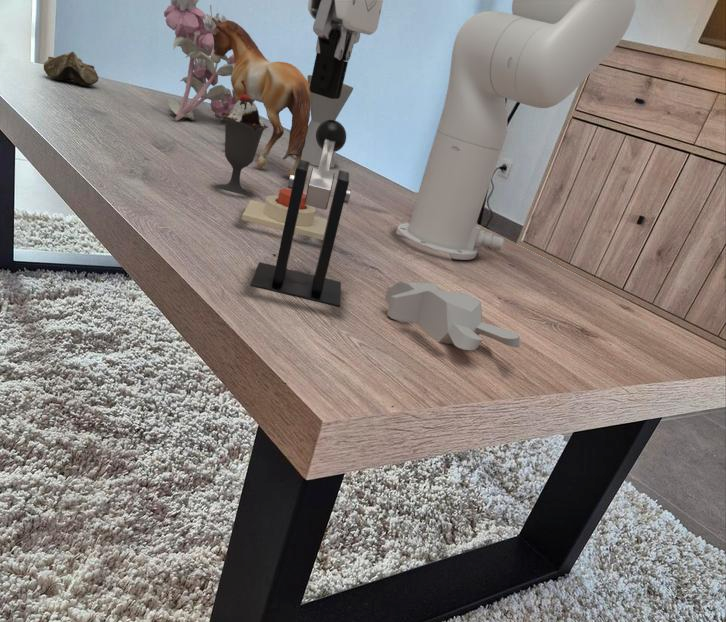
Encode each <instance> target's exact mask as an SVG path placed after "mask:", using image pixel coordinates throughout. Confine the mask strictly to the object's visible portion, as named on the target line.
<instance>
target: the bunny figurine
mask: <svg viewBox="0 0 726 622" xmlns="http://www.w3.org/2000/svg"><path fill="white" fill-rule="evenodd" d="M384 299H385V301H387V303H389V304H388V308H387V312H386V313H387V314H386V315H387V316H388V317H389V318H390V319H392V320H395V321H397V322H401V323H402V322H404V323H412V324H416V325H418V326H419V328H420V329H421V330H422V331H423V332H424V333H426V335H427V336H428V337H430V338H431V339H432V340H434V341H435V342H437V343H439V344H447V345H454V346H455V347H457V348H458V349H460V350H463V351H475V350H477V349H478V348H479V346H480V344H481V343H482V342H483V338H482V337H481V336H480V335H482V336H485V337H487V338H490V339H491V340H494V341H497V342H499V343H501V344H503V345H506V346H509V347H511V348H516V349H517V348H520V345H521V343H520V340H521V339H520V335H519V333H518V332H516V331H512V330H509V329H506V328H503V327H500V326H496V325H492V324H488V323H485V322H483V312H482V311H483V310H482V302H481V301H480V300H479V299H477V298H476V297H475V296H473V295H471V294H469V293H466V292H462V291H458V290H457V291H452V290H451V291H450V290H445V289H440V288H439V287H438V285H437V283H434V282H415V281H414V282H412V281H411V282H410V281H400V282H396V283H395V284H394V285H387V288H386V294H385V298H384Z"/></svg>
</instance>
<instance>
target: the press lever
mask: <svg viewBox="0 0 726 622" xmlns="http://www.w3.org/2000/svg"><path fill="white" fill-rule="evenodd" d="M316 141H317V143H318V145H319V147H320V148H321V149H323V150H322V154H321V159H320V163H319V166H317V167H312V168H311V171H310V172H311V173H310V177H309V180H308V185H307V189H306V194H305V195H306V199H305V203H304V204H305V205H309V206H313V207H314V208H316V209H320V210H324V211H326V210H328V205H329V203H330V197H331V193H332V188H333V183H334V178H335V174H336V173H334V172H331V171H330V169H331V168H330V165H331V160H332V155H333V152H334V153H336V152H339V151H340V150H342V148H343V147H344V146H345V144H346V142H347V131H346V129H345V127H344V125H343V124H341V122H339V121H338V120H326V121H324V122H322V123H321V124H320V125H319V127H318V128H317V131H316Z"/></svg>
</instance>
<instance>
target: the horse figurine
mask: <svg viewBox="0 0 726 622" xmlns="http://www.w3.org/2000/svg"><path fill="white" fill-rule="evenodd" d="M212 20H213V21H214V23H215V24H216V28H215V30H214V32H213V34H212V35H213V38H214V43H213V49H212V53H211V55H210V58H211V59H212V60H213V62H214V64H216V63H218V64H219V63H221V60H222V59H221V58H222V57H223V56H224V55H226V54H228V52H230V51H232V53H233V54H234V60H235V67H234V69H233V71H232V75H231V76H230V82H231V87H232V89H233V90H234V92H235V100H236V103H237V102H238V101H239V99H240V96H241V95H242V94H244V93H245V87H244V86H243V84H242V83H241V80H244V84H245V86H246V92H247V94H246V95H247V96H248V97H249V99H250V100H251V101H252V102H259V103H261V104H263V107H264V108H265V111H266V117H267V119H268V121H269V123H270V124H271V126H272V128H273V129H272V134H271V137H270V139H269V141H268V142H267V143H266V145H264V147H262V149H261V151H260V155H259V157H258V159H257V162H256V168H258V169H261V168H264V167H265V166H266V162H267V161H266V156H267V155H268V154H269V153H270V152H271V150H272V148H273V147H274V145H275V144H276V142H278V141H279V139H281V138H282V137H283V135H284V131H285V130H284V127H283V125H282V123H281V119H280V113H281V112H282V111H284V109H286V108H288V111H289V112H290V114H291V127H290V131H289V138H288V145H287V151H286V153H285V155H284V156H283V157H282V160H284V161H285V160H286V159H287V158H289V157H291V156H292V155H295V156H296V158H295V160H294V165H293V167H292V168H291V169H290V170H289V171H288V172H287V174H286V177H287V178H288V177H290V174H295V172H296V168H297V165H298V163H299V160H301V157H302V151H303V148H304V145H305V138H306V135H307V132H308V125H309V123H310V118H311V110H310V94H311V92H310V89H309V88H310V85H309V83H308V79H307V78H306V77H305V75H304V73H302V71H301V70H299V68H297V66H295V65H293V64H292V63H289V62H286V61H285V62H284V61H272V62H271V61H270V60H268V59H267V58H266V57H265V56H264V54H263V52H262V51H261V50H260V48H259V47H258V45H257V44H256V42H255V41H254V39H252V37H251V36H250V34H249V33H248V32H247V31H246V30H245V29H244V27H242V25H239V24H238V23H237V22H235V21H233V20H230V19H227V21H225V22H221V21H220V20H221V19H220V20H218V21H216V20H215V19H214V17H213V18H212ZM233 54H232V55H233Z"/></svg>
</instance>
